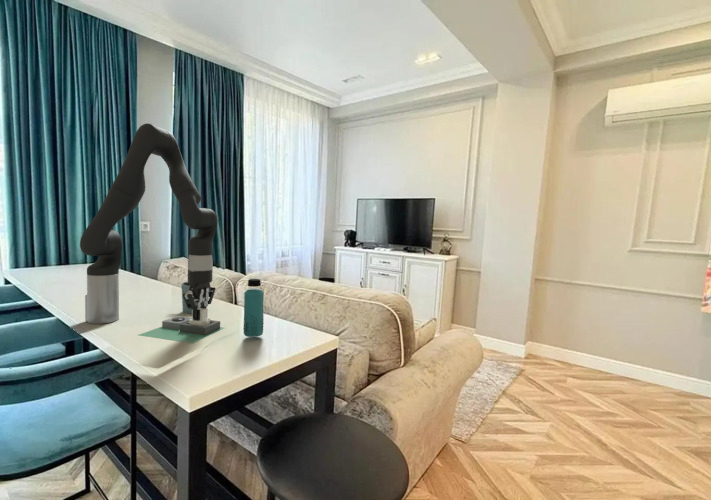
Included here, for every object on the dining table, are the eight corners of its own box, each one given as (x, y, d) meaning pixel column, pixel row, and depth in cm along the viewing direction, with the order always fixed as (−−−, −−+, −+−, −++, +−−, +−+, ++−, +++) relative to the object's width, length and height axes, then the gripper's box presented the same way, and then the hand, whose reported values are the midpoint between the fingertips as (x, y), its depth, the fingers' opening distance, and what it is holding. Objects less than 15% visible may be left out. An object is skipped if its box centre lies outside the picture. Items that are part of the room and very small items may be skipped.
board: (138, 339, 105) (138, 327, 105) (176, 325, 121) (176, 314, 120) (192, 348, 100) (192, 335, 100) (225, 332, 116) (225, 320, 116)
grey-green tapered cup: (191, 307, 145) (191, 280, 144) (212, 309, 144) (213, 282, 143) (175, 313, 135) (175, 284, 134) (198, 315, 134) (198, 286, 133)
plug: (189, 328, 111) (189, 309, 111) (197, 325, 115) (197, 306, 114) (204, 330, 110) (204, 311, 109) (212, 327, 114) (212, 308, 113)
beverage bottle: (267, 336, 113) (268, 278, 112) (255, 343, 107) (256, 281, 106) (251, 333, 115) (252, 276, 114) (238, 339, 109) (239, 279, 108)
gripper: (204, 265, 119) (203, 312, 120) (174, 269, 105) (174, 323, 106) (223, 266, 117) (222, 315, 118) (195, 271, 103) (194, 326, 105)
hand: (199, 318), depth 112 cm, fingers closed on plug, 2 cm apart
